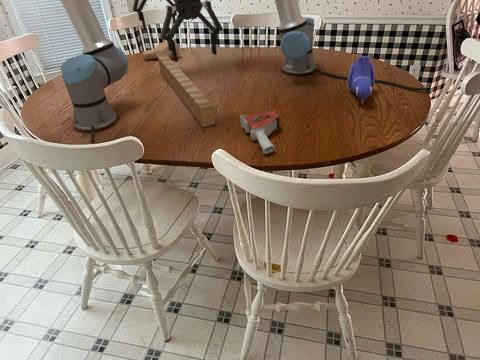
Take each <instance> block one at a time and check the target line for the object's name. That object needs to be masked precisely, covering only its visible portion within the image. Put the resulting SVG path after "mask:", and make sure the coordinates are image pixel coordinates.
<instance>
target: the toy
mask: <svg viewBox="0 0 480 360" xmlns="http://www.w3.org/2000/svg"><path fill="white" fill-rule="evenodd" d="M370 59H371V57H370V56H369V55H365V56H362V55H361V56H358V57H357V60H356V62H355V61H352V63H351V65H350V67H349V70H348V74H347V77H348V79H347V86H348V89H350V90H351V91H352V92H353V93H354V95H355V96H356V97H357V98H358V100H360V105H361V106H363V105H364V102H365V100H367V99H368V98H369V97H370V96H371V95H372V94H373V88H374V86H375V83H376V82H375V79H376V73H375V67H374V64H373V61H372V60H370Z"/></svg>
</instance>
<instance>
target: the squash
mask: <svg viewBox="0 0 480 360" xmlns="http://www.w3.org/2000/svg"><path fill="white" fill-rule="evenodd" d="M175 47H176V54H177V57H179V55H180V47H179V46H178V44H177V41H175ZM164 55H167V56H168V57H169V58H170V59H171V60H172V61H173V54H172V51H169V49H168V43H167V40H164V41H163V42H159V43H158V44H157V45H156V47H154V48H152V49H147V50H143V51H142V58H143V60H145V61H149V60H151V59H158V57H159V56H164Z"/></svg>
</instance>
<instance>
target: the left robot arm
mask: <svg viewBox="0 0 480 360" xmlns="http://www.w3.org/2000/svg"><path fill="white" fill-rule="evenodd" d="M59 1H60V3H61V4H62V7H63V8H64V10H65V12H66V14H67V16H68V18H69V20H70V22H71V24H72V27H73V28H74V30H75V32H76V35H77V36H78V38H79V40H80V42H81V44H82V46H83V47H82V51H81V52H82V53H81V54H78V55H75V56H72V57H70V58H67V59H66V60H64V61H63V62H62V64H61V65H60V72H61V77H62V80H63V82H64V84H65V88H66V90H67V93H68V95H69V99H70V101H71V104H72V108H73V114H72V117H73V118H72V119H73V125H74V128H75V129H76V131H78V132H84V133H90V134H91V135H90V143H94V133H95V132H99V131H102V130H105V129H107V128H110V127H111V126H113V125H115V124H116V122H117V121H118V116H117V113H116V111H115V110H114V108H113V107H112V105H111V103H110V102H109V101H108V99H107V96H106V92H105V89H106V88H107V87H109V86H111V85H112V84H115V83H116V82H118V81H120V80H121V79H122V78H123V77H125V76H126V74H127V73H128V70H129V60H128V57H127V55H126V53H125V52H124V50H122V49H121V48H120V47H118V46H115V43H114V41H113V40H111V39H109V38H108V37H107V36H106V35H105V32H104V30H103V28H102V25H101V24H100V22H99V20H98V17H97V15H96V13H95V10H94V9H93V6H92V5H91V2H90V1H89V0H59ZM203 8H204V9H205V10H206V12H207V13H208V16H209V17H210V19H211V20H212V22H213V24H214V25H213V24H212V23H211V22H210V21H209V20H208V19H207V18H206V17H205V16H204V14H203V13H202V12H201V11H202V10H203ZM165 9H166V12H165V13H166V14H165V19H164V21H163V25H162V29H161V33H160V38H161V40H163V41H167V43H168V49H169V51H172V54H173V59H172V61H173V62H174V63H178V56H177V54H176V47H175V42H176V41H175V40H174V37H175V36H176V34H177V32H178V30H179V28H180V27H181V25H182V23H184V20H186V21H190V20H197V18H198V19H199V20H201V22H202V23H203V24H204V25H205V26H206V27H207V28H208V29H209V30H210V31H211V32H209V36H210V37H209V39H210V46H211V47H210V48H211V53H212V55H214V56H216V55H217V54H218V53H217V44H219V35H218V34H219V33H220V32H222V31H223V29H224V27H223V26H222V24H221V22H220V20H219V19H218V17H217V15H216V13H215V12H214V10H213V7H212V2H211V1H210V0H204V1H201V0H176V6H171V5H170V4H168V5H166V6H165ZM175 10H176V11H177V16H176V17H175V19H176V20H175V22H174V24H173V23H172V25H171V22H172V14H174V11H175ZM170 26H171V28H170Z"/></svg>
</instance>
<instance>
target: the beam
mask: <svg viewBox="0 0 480 360" xmlns="http://www.w3.org/2000/svg"><path fill="white" fill-rule="evenodd" d="M157 60H158V67H159V71H160V73H161V74H162V76H163V77H164V78H165V80H166V81H167V82H168V83H169V85H170V86H171V88H172V89H173V90H174V91H175V92H176V94H177V95H178V97H179V98H180V99H181V101H182V102H183V103H184V104H185V105H186V107H187V108H188V109H189V111H190V112H191V113H192V115H193V116H194V117H195V119H196V120H197V121H198V123H199V124H200V126H202V128H206V127H209V126H213V125H216V117H215V107H214V103H212V102H211V101H210V100H209V99H208V97H206V96H205V94H204V93H203V92H202V91H201V90H200V89H199V88H198V87H197V85H196V84H195V83H194V82H193V81H192V80H191V79H190V78H189V77H188V76H187V75H186V74H185V73H184V72H183V71H182V69H180V67H179V66H178V65H177V64H176V62H175V61H174V60H173V59H172V60H171V59H170V58H169V57H168V56H167V55H164V56H159V57H158V58H157Z"/></svg>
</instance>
